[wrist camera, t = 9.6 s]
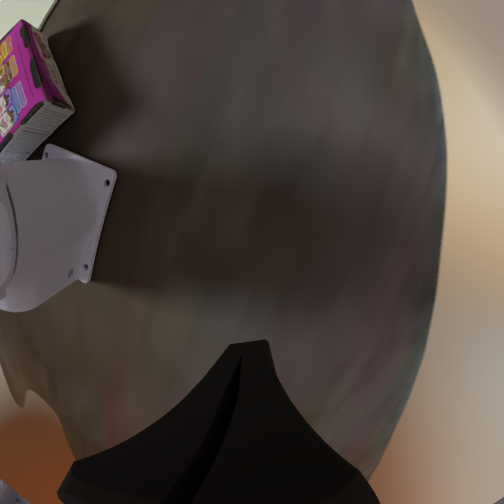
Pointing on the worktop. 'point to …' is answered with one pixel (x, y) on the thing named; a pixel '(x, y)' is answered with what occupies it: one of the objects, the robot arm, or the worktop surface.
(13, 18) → the tray
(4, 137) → the candy bar box
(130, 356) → the worktop surface
